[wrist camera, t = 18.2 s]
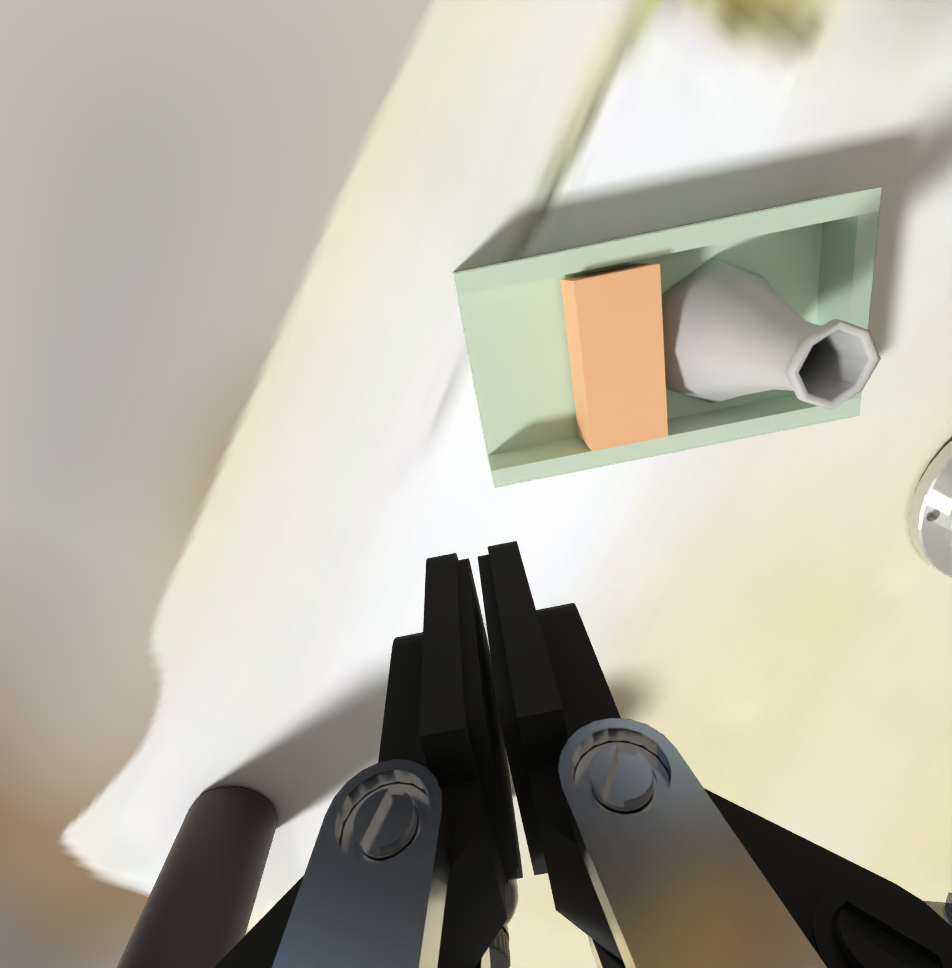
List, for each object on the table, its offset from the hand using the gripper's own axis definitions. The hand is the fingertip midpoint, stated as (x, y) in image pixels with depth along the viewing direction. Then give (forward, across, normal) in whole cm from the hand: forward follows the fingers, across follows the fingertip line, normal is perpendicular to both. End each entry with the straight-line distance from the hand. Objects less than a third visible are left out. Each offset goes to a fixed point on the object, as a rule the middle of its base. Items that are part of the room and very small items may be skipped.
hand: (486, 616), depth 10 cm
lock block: (+21, -8, 0) cm, 22 cm away
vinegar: (+22, +24, +30) cm, 45 cm away
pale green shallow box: (+22, -11, 0) cm, 25 cm away
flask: (+21, -14, 0) cm, 25 cm away
